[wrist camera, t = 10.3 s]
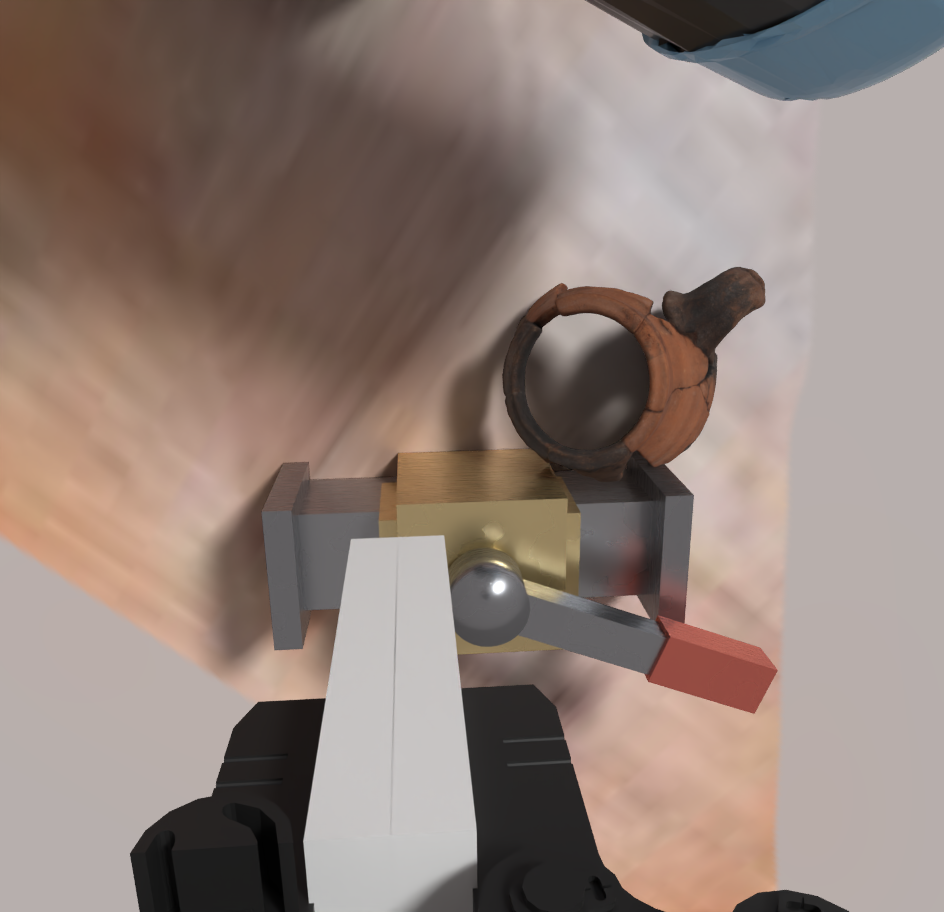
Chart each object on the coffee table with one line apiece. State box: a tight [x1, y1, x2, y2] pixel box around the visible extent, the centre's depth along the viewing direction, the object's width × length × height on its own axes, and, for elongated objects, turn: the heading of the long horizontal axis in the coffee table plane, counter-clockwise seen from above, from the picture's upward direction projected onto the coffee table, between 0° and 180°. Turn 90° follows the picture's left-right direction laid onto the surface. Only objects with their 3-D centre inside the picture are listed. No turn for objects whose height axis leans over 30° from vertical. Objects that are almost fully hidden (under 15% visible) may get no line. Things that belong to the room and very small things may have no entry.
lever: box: [448, 548, 778, 714], centre depth 35 cm, size 14×3×2 cm, turn 69°
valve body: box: [262, 449, 694, 655], centre depth 38 cm, size 7×18×7 cm, turn 91°
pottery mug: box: [503, 267, 765, 482], centre depth 37 cm, size 12×10×8 cm
